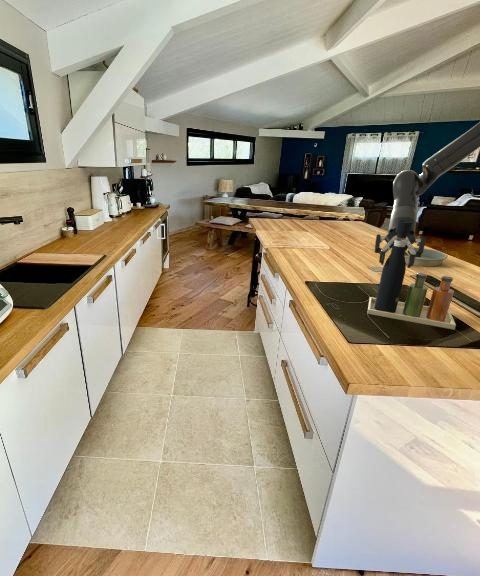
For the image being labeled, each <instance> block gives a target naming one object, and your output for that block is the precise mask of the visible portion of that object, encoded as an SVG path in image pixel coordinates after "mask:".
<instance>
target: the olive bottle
mask: <svg viewBox="0 0 480 576" xmlns="http://www.w3.org/2000/svg"><path fill="white" fill-rule="evenodd" d="M427 277H428V275H427V274H426V273H422V272H417V273H415V280H414V283H409V285H408V288H407V291H406V296H405V299H404V303H405V304H404V308H403V312H402V313H403V314H404V315H406V316H412V317H420V315H421V312H422V308H423V306H425V305H424V304H425V301H426V297H427V293H428V289H429V287H428V286H427V285H425V282H426V279H427Z"/></svg>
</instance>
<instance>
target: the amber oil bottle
mask: <svg viewBox="0 0 480 576" xmlns="http://www.w3.org/2000/svg"><path fill="white" fill-rule="evenodd" d="M453 280H454V278H453V277H452V276H447V275H441V277H440V283H439V286H435V287H433V290H432V293H431V295H430V296H431V297H430V300H429V303H428V306H429V307H428V310H427V314H426V318H427V319H429V320H434V321H440V322H444V321H445V319H446V316H447V313H448V310H450V306H451V302H452V299H453V297H454V294H455V290H453V289H452V288H451V284H452V282H453Z"/></svg>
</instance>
